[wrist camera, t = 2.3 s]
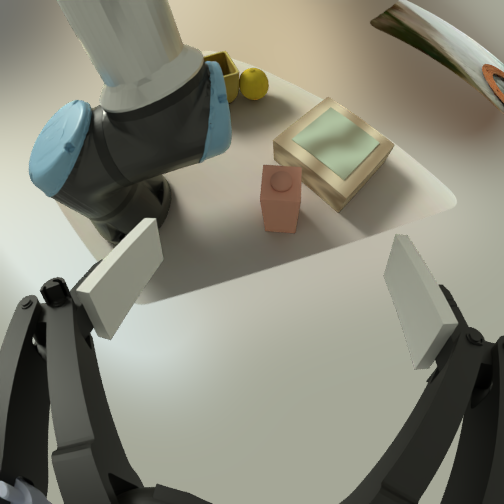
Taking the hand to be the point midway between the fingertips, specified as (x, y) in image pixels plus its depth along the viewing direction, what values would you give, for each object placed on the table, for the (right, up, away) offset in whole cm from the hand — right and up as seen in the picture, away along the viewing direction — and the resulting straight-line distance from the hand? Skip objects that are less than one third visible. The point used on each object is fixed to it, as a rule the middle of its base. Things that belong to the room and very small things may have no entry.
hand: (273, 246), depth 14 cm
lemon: (0, +30, +34) cm, 45 cm away
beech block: (+12, +15, +30) cm, 36 cm away
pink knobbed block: (+3, +5, +28) cm, 28 cm away
